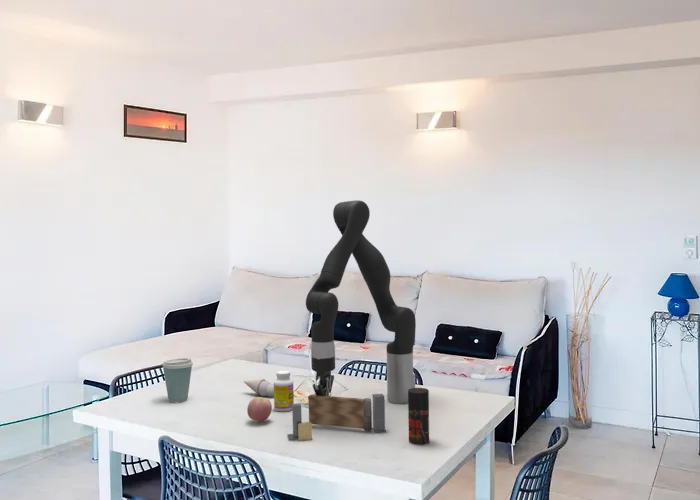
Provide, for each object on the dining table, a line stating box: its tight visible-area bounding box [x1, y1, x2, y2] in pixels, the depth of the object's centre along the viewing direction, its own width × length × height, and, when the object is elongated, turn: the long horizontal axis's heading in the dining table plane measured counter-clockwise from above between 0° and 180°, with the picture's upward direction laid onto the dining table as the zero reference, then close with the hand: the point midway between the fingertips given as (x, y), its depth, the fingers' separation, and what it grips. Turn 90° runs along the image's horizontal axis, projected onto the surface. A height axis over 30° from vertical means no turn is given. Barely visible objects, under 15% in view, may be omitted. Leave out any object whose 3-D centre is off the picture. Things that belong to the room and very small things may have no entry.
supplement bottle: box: [273, 370, 295, 413], centre depth 232 cm, size 7×7×13 cm
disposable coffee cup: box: [162, 357, 193, 403], centre depth 246 cm, size 11×11×15 cm
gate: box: [307, 394, 373, 432], centre depth 210 cm, size 20×2×10 cm, turn 71°
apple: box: [246, 396, 273, 423], centre depth 219 cm, size 8×8×8 cm
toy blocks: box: [286, 403, 313, 442], centre depth 203 cm, size 7×5×10 cm
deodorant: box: [407, 387, 430, 446], centre depth 197 cm, size 6×6×15 cm
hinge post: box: [372, 393, 387, 434], centre depth 208 cm, size 4×4×11 cm
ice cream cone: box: [243, 378, 274, 398], centre depth 251 cm, size 6×6×15 cm
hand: (324, 408), depth 216 cm, fingers closed
